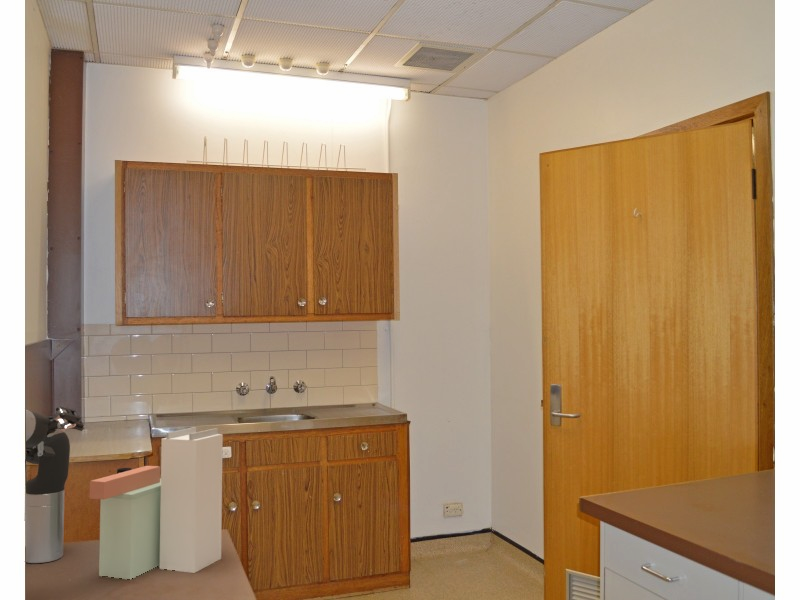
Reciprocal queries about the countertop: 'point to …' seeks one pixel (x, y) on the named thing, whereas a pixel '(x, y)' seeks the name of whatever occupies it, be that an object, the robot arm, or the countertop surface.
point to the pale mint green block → (130, 533)
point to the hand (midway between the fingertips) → (66, 439)
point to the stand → (191, 499)
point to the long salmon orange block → (124, 482)
